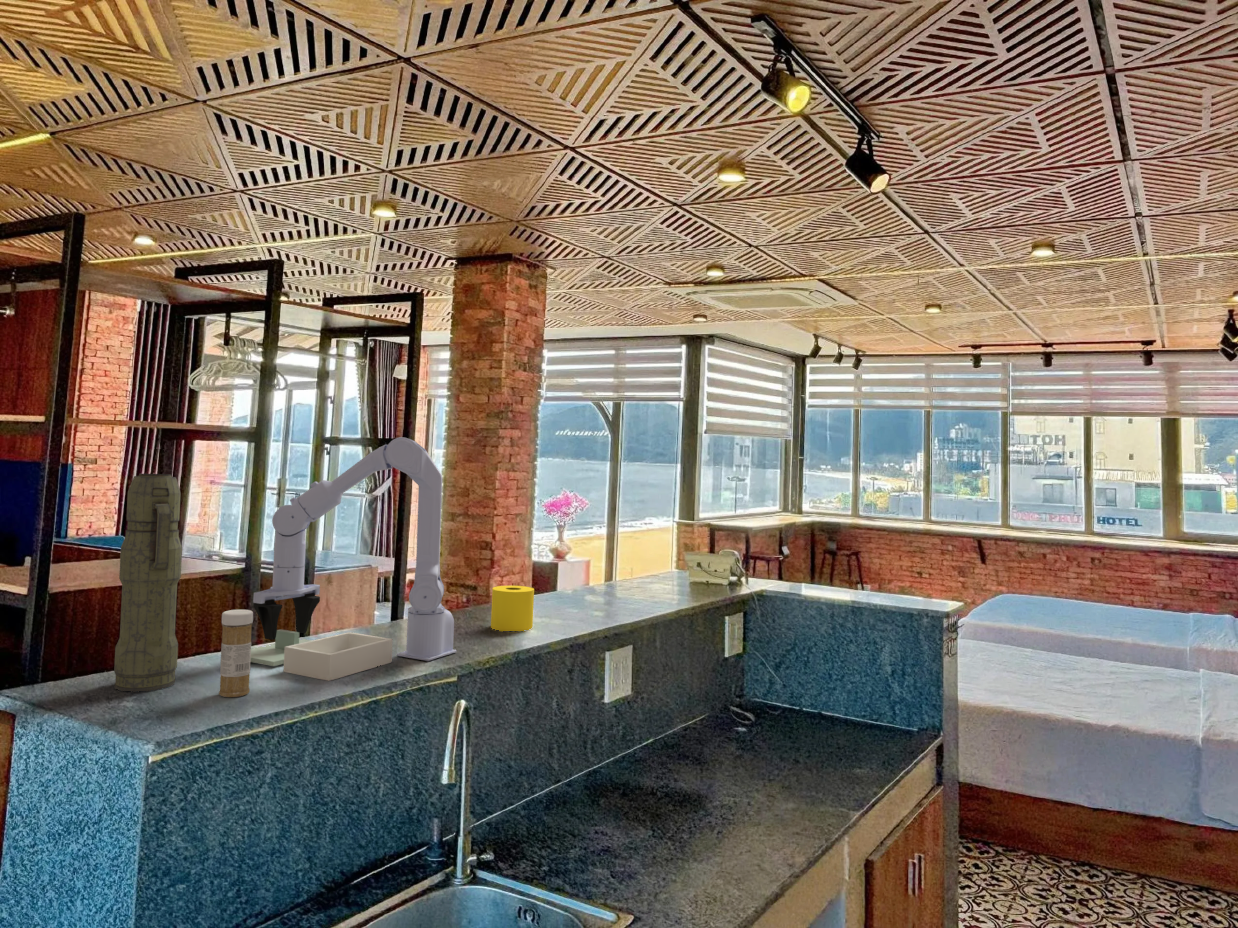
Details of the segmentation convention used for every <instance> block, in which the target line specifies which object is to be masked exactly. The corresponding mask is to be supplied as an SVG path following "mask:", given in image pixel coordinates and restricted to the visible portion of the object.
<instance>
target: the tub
mask: <svg viewBox="0 0 1238 928" xmlns="http://www.w3.org/2000/svg"><path fill="white" fill-rule="evenodd" d="M393 640H394V639H393V638H390V637H389V638H388V637H383V636H382V637H381V636H377V635H370V634H363V633H357V632H352V631H351V632H350V631H347V632H343V633H340V634H335V635H330V636H326V637H325V636H324V637H322V638H318V639H313V640H312V641H308V642H304V643H299V644H295V645H290V646H286V647H285V649H284V664H283V673H288V674H293V675H296V676H297V675H298V676H303V677H307V678H312V679H318V680H323V681H327V682H328V681H329V682H330V681H334V680H337V679H339V678H340V679H341V678H343V677H347V676H350V675H353V674H356V673H360V672H363V671H366V670H370V669H374V668H376V667H377V666H378V667H381V666H384V665H388V664H390V663H391V664H392V660H393V643H394V642H393ZM380 665H381V666H380Z"/></svg>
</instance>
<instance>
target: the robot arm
mask: <svg viewBox="0 0 1238 928" xmlns="http://www.w3.org/2000/svg"><path fill="white" fill-rule="evenodd" d="M393 468H394V469H396V470H398V471H401V472H402V473H404V474H406V475H407V476H408V477H409V478H410V479H411V480H412V481H413V482H414V483H415V484H416V485H417V486H418V494H417V495H418V498H417V522H416V523H417V525H416V526H417V527H416V530H417V531H416V535H417V536H416V561H415V563H416V564H415V571H414V581H413V585H412V587H411V589H410V591H409V593H408V600H409V604H410V607H408V608H407V625H406V626H407V627H406V628H407V629H406V648H405V649H406V650H404V651H401V652H397V653H396V656H397V657H402V658H409V659H413V660H421V661H426V662H429V661H433V660H435V659H438V658H442V657H446V656H448V655H451V654H454V653H457V649H454V636H455V635H454V633H455V619H454V616H453V614H452V613H451V611H449V610H448V609H446V608H445V606H443V604H442V599H443V596H444V593H445V586H444V583H443V581H442V579H441V565H440V563H441V562H440V557H441V554H440V553H441V532H442V530H441V529H442V528H441V527H442V525H441V524H442V499H443V497H442V495H443V476H442V475H443V474H442V473H441V471H440V470H439V469H438V466H437V465H436V464H435V462H434V461H433V459H432V457H431V456H430V455H429V453H428V451H427V449H426V448H424V447H423V446H422V445H421V444H420V443H418V442H417V441H415V440H413V439H410V438H407V437H396V438H393V439H392V440H391V441H390V442H389V443H388V444H384V445H382V446H380V447H378V448H376V449H374V450H373V451H371V452H370V453H368V454H367V455H366V456H364V457H363V458H362V459H359V461H357V462H356V463H355V464H353V465H352V466H351V467H349V468H348V469H347V470H345V471H344V472H342V473H341V474H340V475H339V476H337V477H336V478H335V479H333V480H332V481H331V480H326V479H325V480H324V479H322V480H320V481H319V482H318V481H314V482H311V484H309V486H310V488H309V489H307V490H306V491H305V492H303V493H302V494H300V495H299V496H298V497H296V496H293V497H292V498H291V499H289V501H290V504H285V505H281V506H279V508H278V509H277V510H276V511H275V512H274V514H273V515H272V521H271V522H272V526H273V529H274V530H275V536H274V537H275V538H274V547H273V565H272V566H273V569H272V570H273V571H272V573H273V574H272V586H270V588H268V589H264V590H259V591H256V592H253V602H252V603H253V608H254V610H255V612H256V614H257V615H258V618H259V619H260V623H261V626H262V631H263V635H264V639H266V640H270V641H273V640H274V641H275V638H276V634H277V630H278V622H279V617H280V614H281V612H282V611H281V610H282V608H283V605H282V604H279V603H278V604H277V602H276V601H280V600H282V601H283V600H287V599H292V601H293V605H294V612H295V613H294V614H295V630H296V631H295V632H299V634H300V633H301V634H306V633H307V631H308V628H309V624H310V622H311V619H312V616H313V614H314V612H315V610H316V608H317V606H318V605H319V603H320V601H321V596H319V595H320V592H321V589H320V588H321V585H320V584H314V583H313V584H305V573H306V572H305V570H306V550H307V549H306V546H307V545H306V534H307V531H306V530H307V529H308V528H309V526H310V524H311V523H315V522H316V521H318V520H319V519H320V518H322V517H323V516H325V515H326V514H327V513H328V512H330V511H332V510H333V509H334V508H335V507H337V506H338V505H340V504H341V503H342V496H343V495H344V493H346V492H347V491H348V490H351V489H352V488H353V487H355V486H356V485H358V484H359V483H361V482H362V481H364V480H365V479H368V477H370V476H371V475H373V474H374V473H376V472H379V471H380V472H381V471H385V470H386V471H388V470H391V469H393Z"/></svg>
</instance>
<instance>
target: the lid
mask: <svg viewBox="0 0 1238 928" xmlns="http://www.w3.org/2000/svg"><path fill="white" fill-rule="evenodd" d="M300 639H302V640H300ZM308 641H312V640H310V639H304V638H300V632H296V631H294V630H293V631H292V630H287V629H277V634H276V638H275V639H274V643H271V644H266V645H264V646H266V647H262V646H263V645H262V646H257V647H258V648H257V647H251V660H250V663H255V664H261V665H266V666H271V667H277V666H280V665H284V649H285V647H286V646H290V645H295V644H299V643H304V642H308ZM269 645H271V646H269Z"/></svg>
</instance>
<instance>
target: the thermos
mask: <svg viewBox="0 0 1238 928" xmlns="http://www.w3.org/2000/svg"><path fill="white" fill-rule="evenodd" d="M181 495H182V494H181V490H180V486H179V482H178V479H177V477H175V476H172V474H167V473H165V474H164V473H139V474H138V475H134V476H133V478H132V481H131V482H130V485H129V487H128V491H127V499H126V500H127V502H126V503H127V504H126V522H127V528H126V530H125V537H124V540H123V541H122V543H121V547H120V554H119V555H120V559H119V575H118V576H119V581H120V583H121V587H122V588H121V602H120V603H121V605H120V606H121V607H120V625H119V627H120V628H119V629H120V630H119V639H118V641H117V643H116V645H115V648H114V651H115V652H114V671H113V672H114V674H115V682H114V689H115V690H116V689H118V690H121V691H120V692H123V691H131V692H130V693H140V692H139V691H146V692H152V691H151V690H154V691H158V689H159V690H163V689H162V688H164V689H167V688H169V687H172V686H174V685H175V684H176V678H175V677H176V669H177V667H178V656H179V655H178V654H179V643H178V639H177V637H176V620H177V619H176V617H177V616H176V615H177V597H178V583H179V581H180V579H181V577H182V561H183V560H182V559H183V558H182V557H183V545H182V542H181V539H180V537H179V536H180V530H179V528H178V527H179V526H178V525H179V522H180V514H181V513H180V512H181V511H180V510H181ZM166 687H167V688H166ZM118 690H117V691H118ZM132 691H133V692H132ZM136 691H138V692H136Z"/></svg>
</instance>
